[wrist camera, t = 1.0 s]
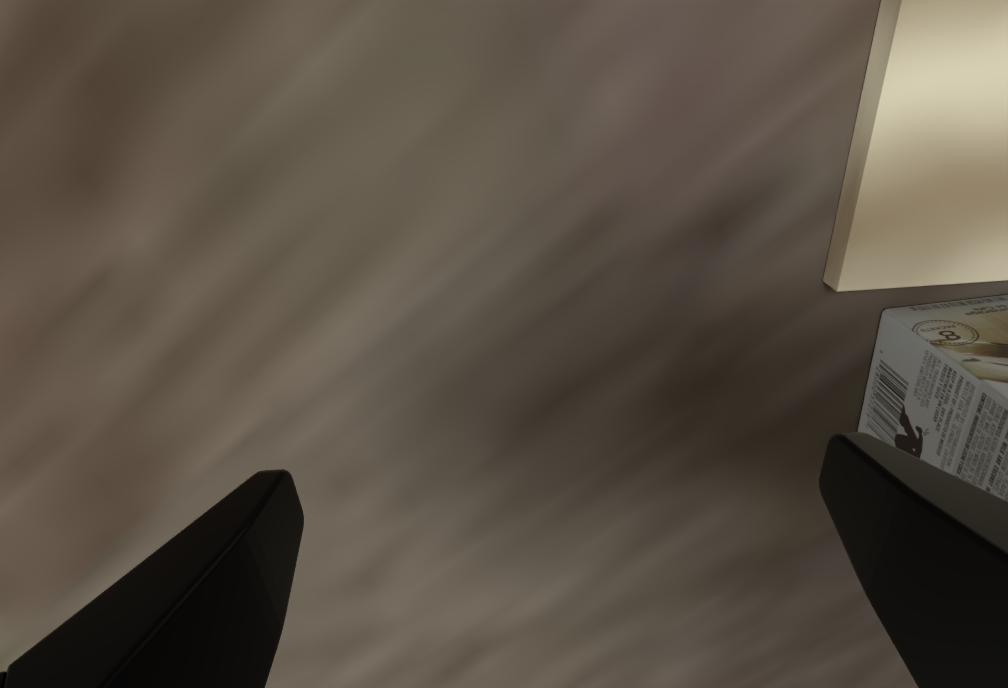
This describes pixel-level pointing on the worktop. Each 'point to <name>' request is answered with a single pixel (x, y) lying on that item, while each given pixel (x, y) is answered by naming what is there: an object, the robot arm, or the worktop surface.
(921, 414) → the coffee box
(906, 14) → the cutting board
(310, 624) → the worktop surface
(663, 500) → the worktop surface
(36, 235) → the worktop surface
